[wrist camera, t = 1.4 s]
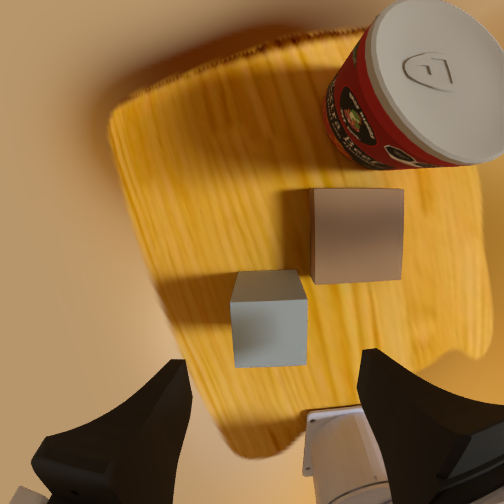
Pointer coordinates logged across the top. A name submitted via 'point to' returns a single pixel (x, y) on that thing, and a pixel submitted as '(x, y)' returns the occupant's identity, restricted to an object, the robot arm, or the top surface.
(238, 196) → the top surface
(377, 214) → the walnut block
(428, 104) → the canned food
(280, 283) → the grey block
